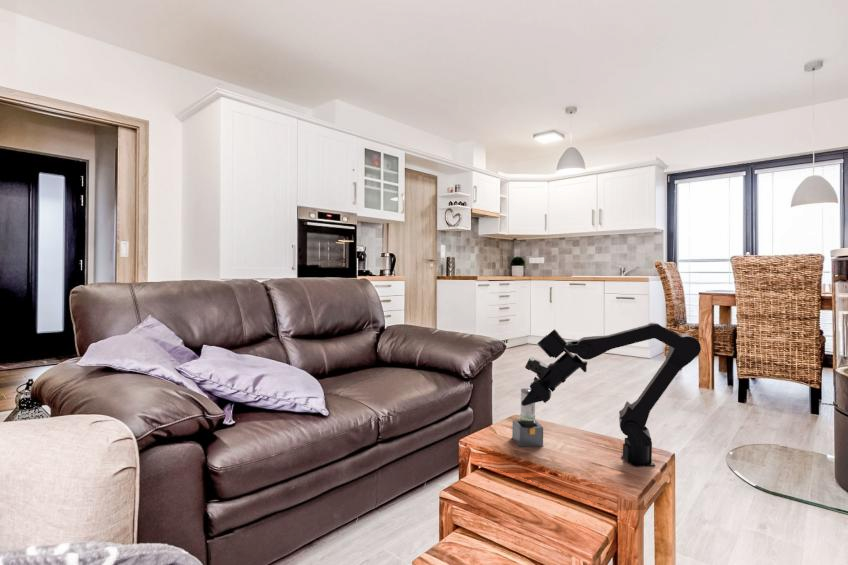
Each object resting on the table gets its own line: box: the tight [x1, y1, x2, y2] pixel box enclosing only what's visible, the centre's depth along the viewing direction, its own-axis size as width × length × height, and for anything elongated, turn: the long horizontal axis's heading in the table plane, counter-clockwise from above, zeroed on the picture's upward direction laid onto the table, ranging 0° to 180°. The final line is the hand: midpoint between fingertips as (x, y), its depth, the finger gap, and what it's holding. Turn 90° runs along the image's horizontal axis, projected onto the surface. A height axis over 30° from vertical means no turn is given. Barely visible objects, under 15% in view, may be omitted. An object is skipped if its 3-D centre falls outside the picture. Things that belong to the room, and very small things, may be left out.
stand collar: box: [511, 419, 544, 448], centre depth 133 cm, size 8×8×6 cm
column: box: [519, 387, 536, 427], centre depth 133 cm, size 4×4×12 cm
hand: (523, 402), depth 134 cm, fingers closed on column, 4 cm apart
